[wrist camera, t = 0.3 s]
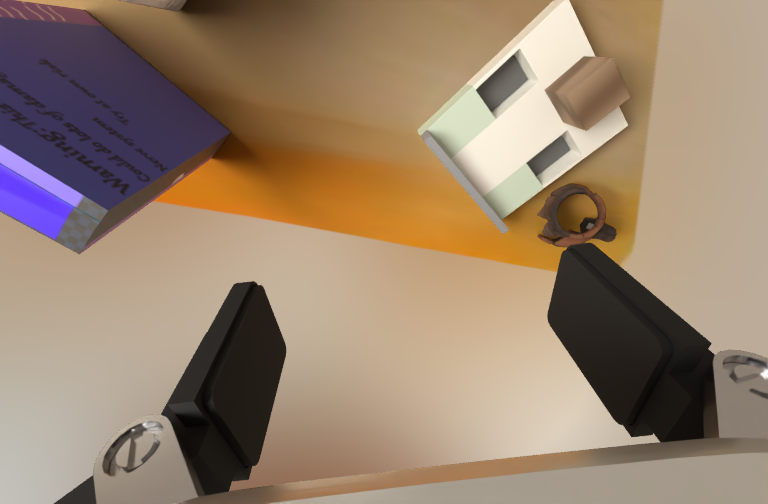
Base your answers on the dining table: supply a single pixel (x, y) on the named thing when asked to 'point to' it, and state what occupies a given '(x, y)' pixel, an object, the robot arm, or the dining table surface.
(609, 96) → the block
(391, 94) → the dining table surface
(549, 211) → the brown curved piece
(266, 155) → the dining table surface
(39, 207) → the blue rectangular box
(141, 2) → the juice carton
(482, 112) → the tray
